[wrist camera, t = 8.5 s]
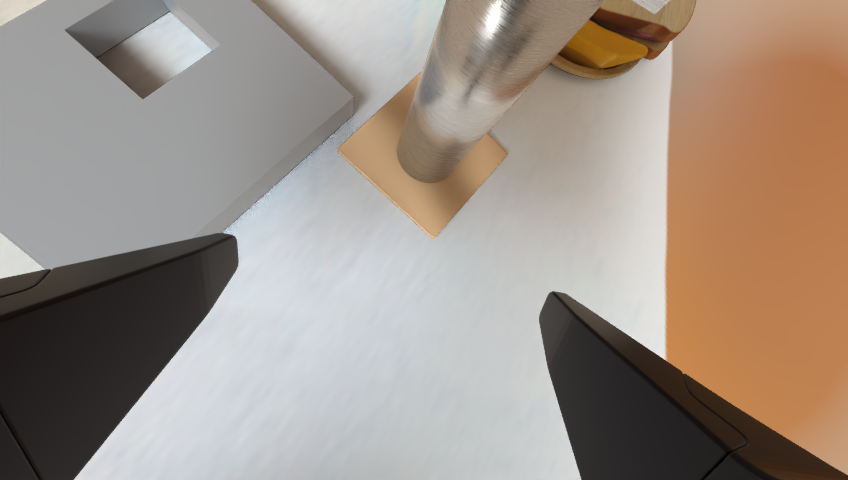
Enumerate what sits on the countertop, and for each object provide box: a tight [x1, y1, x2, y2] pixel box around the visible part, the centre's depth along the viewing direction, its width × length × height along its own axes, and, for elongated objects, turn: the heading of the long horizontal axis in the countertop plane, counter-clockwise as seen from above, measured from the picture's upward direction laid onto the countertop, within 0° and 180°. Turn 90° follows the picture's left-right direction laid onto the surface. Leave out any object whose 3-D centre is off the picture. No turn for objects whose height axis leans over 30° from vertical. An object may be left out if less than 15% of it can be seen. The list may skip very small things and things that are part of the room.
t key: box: [397, 0, 670, 183], centre depth 14 cm, size 4×6×15 cm, turn 69°
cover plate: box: [0, 0, 354, 270], centre depth 17 cm, size 16×13×2 cm
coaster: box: [337, 72, 508, 239], centre depth 21 cm, size 8×8×1 cm
